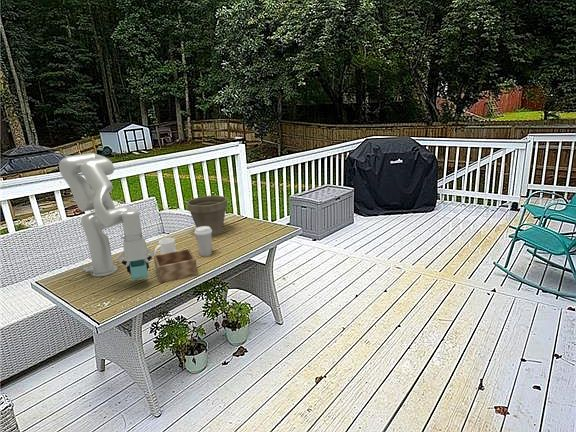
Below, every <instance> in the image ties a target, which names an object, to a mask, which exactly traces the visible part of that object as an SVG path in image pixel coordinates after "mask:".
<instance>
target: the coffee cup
mask: <svg viewBox="0 0 576 432" xmlns="http://www.w3.org/2000/svg"><path fill="white" fill-rule="evenodd" d="M211 232H212V230H211V228H210V227H209V226H201V227H198V228H196V227H195V230H194V235H195V238H196V241H197V246H198V253H199V255H200V256H202V257H207V256H211V255H212V253H213V252H212V251H213V249H212V246H213V245H212V236H211Z"/></svg>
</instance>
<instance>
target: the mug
mask: <svg viewBox="0 0 576 432" xmlns="http://www.w3.org/2000/svg"><path fill="white" fill-rule="evenodd" d="M158 250H159V252H160V254H165V253H170V252H175V251H177V248H176V240H175V238H172V237H165V238H162V239H160V240H159V241H158V245H157V246H156V247H155V248H154V251H153V252H154V256H155V255H159V254H158Z"/></svg>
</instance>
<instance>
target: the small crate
mask: <svg viewBox="0 0 576 432" xmlns="http://www.w3.org/2000/svg"><path fill="white" fill-rule="evenodd" d="M129 265H130V271H131V274H130V276H131V280H132V281H135V280H140V279H145V278H146V279H147V278H148V277H149V276H148V275H149V274H148V271H147V266H146V262H145V260H144V259H143V260H137V261H132V262H130V263H129Z"/></svg>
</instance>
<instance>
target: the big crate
mask: <svg viewBox="0 0 576 432" xmlns="http://www.w3.org/2000/svg"><path fill="white" fill-rule="evenodd" d="M153 261H154V266H155V272H156V274H157V277H158V282H159V283H160V284H161V283H164V282H169V281H174V280H178V279H182V278H183V279H184V278H187V277H191V276H195V275H198V266H197V259H196V258H195V256H194V254H193V252H192V251H191V249H190V248H187V249H186V248H185V249H181V250H176V251H175V252H170V253H165V254H161V253H160V254H158V255H155V254H154V255H153Z"/></svg>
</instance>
